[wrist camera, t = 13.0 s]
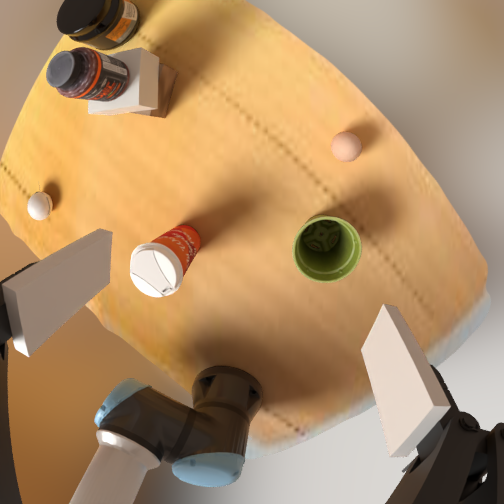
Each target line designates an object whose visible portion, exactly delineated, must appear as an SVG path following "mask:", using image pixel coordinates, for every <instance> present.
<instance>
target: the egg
mask: <svg viewBox="0 0 504 504" xmlns="http://www.w3.org/2000/svg"><path fill="white" fill-rule="evenodd" d="M331 150H332V153H333V155H334V156H335V157H336V158H337V159H338V160H341V161H343V162H351V161H354V160H355V159H357V158H358V157H359V155H360V153H361V150H362V145H361V142H360V140H359V138H358V137H357V136H356V135H355V134H353V133H351V132H340V133H338V134H337V135H335V136H334V138H333V139H332V142H331Z"/></svg>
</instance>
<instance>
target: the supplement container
mask: <svg viewBox="0 0 504 504" xmlns="http://www.w3.org/2000/svg"><path fill="white" fill-rule="evenodd" d="M139 21H140V13H139V10H138V8H137V6H136V5H135V4H134V3H132V2H131V1H129V0H65V1H64V2H63V4H62V6H61V7H60V9H59V12H58V15H57V27H58V29H59V31H60V32H61V33H63V34H66V35H68V36H69V37H70V38H71V39H72V40H74V41H76V42H82V43H84V44H87V45H90V46H92V47H95V48H96V49H99V50H112V49H115V48H118V47H120V46H121V45H123V44H124V43H126V42H127V41H128V40H129V39H130V38H131V37H132V35H133V34H134V33H135V31H136V29H137V27H138V25H139Z"/></svg>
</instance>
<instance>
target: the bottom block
mask: <svg viewBox="0 0 504 504" xmlns="http://www.w3.org/2000/svg"><path fill="white" fill-rule="evenodd" d="M177 73H178V72H177V71H175V70H174V69H172V68H170V67H168V66H167V65H165V64H159V74H158V109H153V110H144V111H136V112H129V113H136V114H142V115H148V116H154V117H161V118H165V117H166V113H167V109H168V105H169V101H170V98H171V94H172V91H173V87H174V84H175V80H176V77H177Z"/></svg>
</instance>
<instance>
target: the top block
mask: <svg viewBox="0 0 504 504" xmlns="http://www.w3.org/2000/svg"><path fill="white" fill-rule="evenodd" d="M108 56H111V57H113V58H116V59H118V60H120V61H122V62H124V63H125V64H126V65H127V67H128V69H129V74H130V79H129V83H128V86H127V88H126V90H125V91H124V92H123V94H122V95H121V96H120V97H118V98H117V99H115V100H112V101H109V102H102V101H94V100H89V101H88V114H99V115H116V114H122V113H129V112H136V111H144V110H153V109H158V74H159V57H157V56H156V55H154V54H152V53H150V52H149V51H147V50H145V49H143V48H136V49H132V50H127V51H123V52H119V53H115V54H111V55H108Z"/></svg>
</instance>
